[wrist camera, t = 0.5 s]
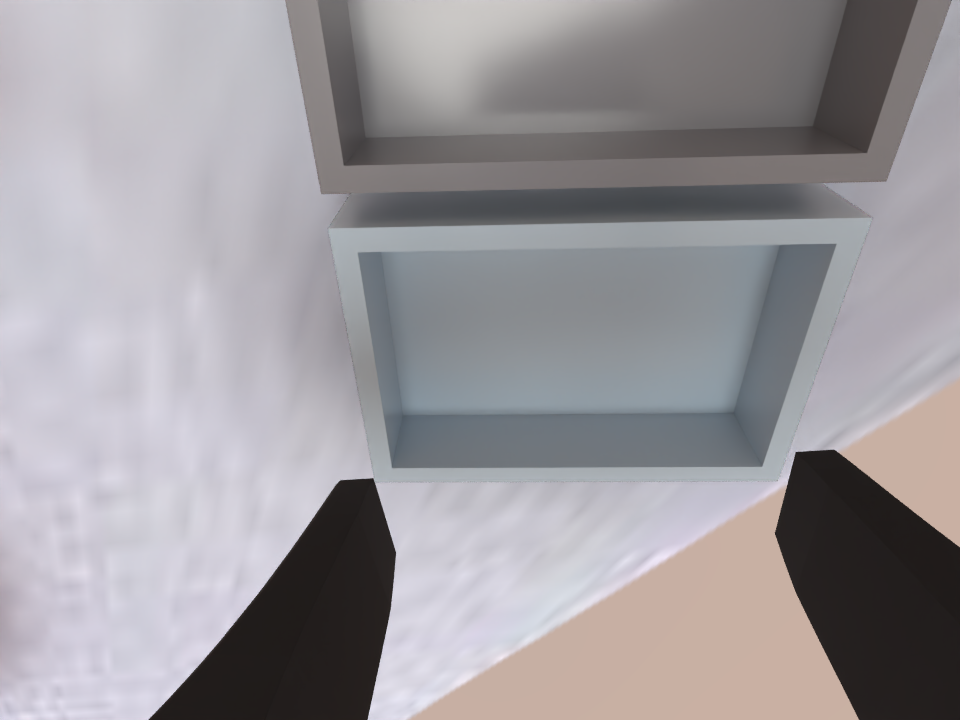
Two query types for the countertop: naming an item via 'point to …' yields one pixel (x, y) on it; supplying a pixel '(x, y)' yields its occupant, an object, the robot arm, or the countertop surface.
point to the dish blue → (590, 328)
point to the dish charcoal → (607, 91)
